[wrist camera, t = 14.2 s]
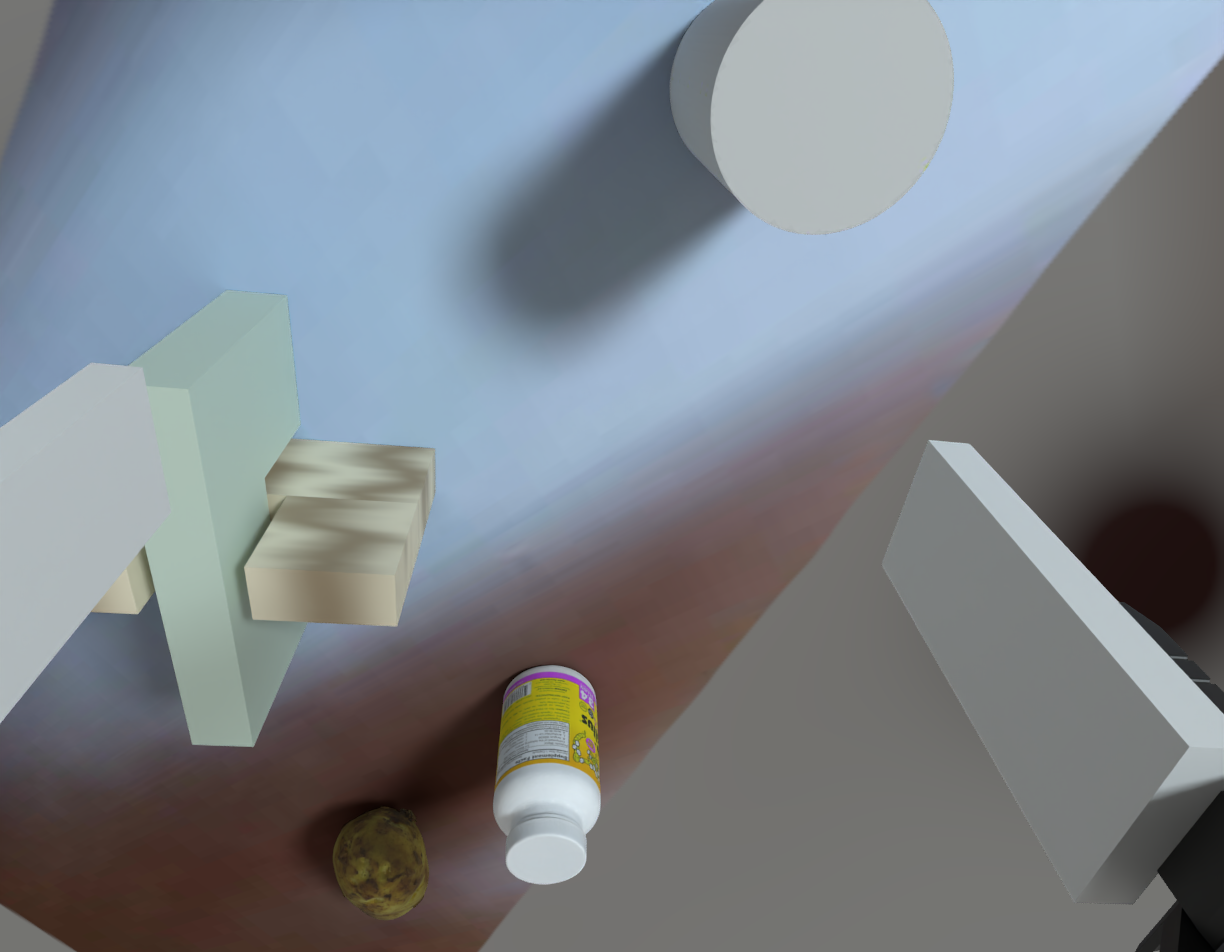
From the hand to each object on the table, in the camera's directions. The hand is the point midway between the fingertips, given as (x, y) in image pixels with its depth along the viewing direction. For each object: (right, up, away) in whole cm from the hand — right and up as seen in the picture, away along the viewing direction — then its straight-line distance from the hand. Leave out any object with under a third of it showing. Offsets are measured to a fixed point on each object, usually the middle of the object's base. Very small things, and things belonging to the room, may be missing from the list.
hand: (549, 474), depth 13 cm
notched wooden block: (-18, +1, +31) cm, 36 cm away
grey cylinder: (+8, +18, +23) cm, 30 cm away
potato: (-17, -28, +48) cm, 58 cm away
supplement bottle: (-3, -16, +42) cm, 45 cm away
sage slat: (-18, +1, +31) cm, 36 cm away
